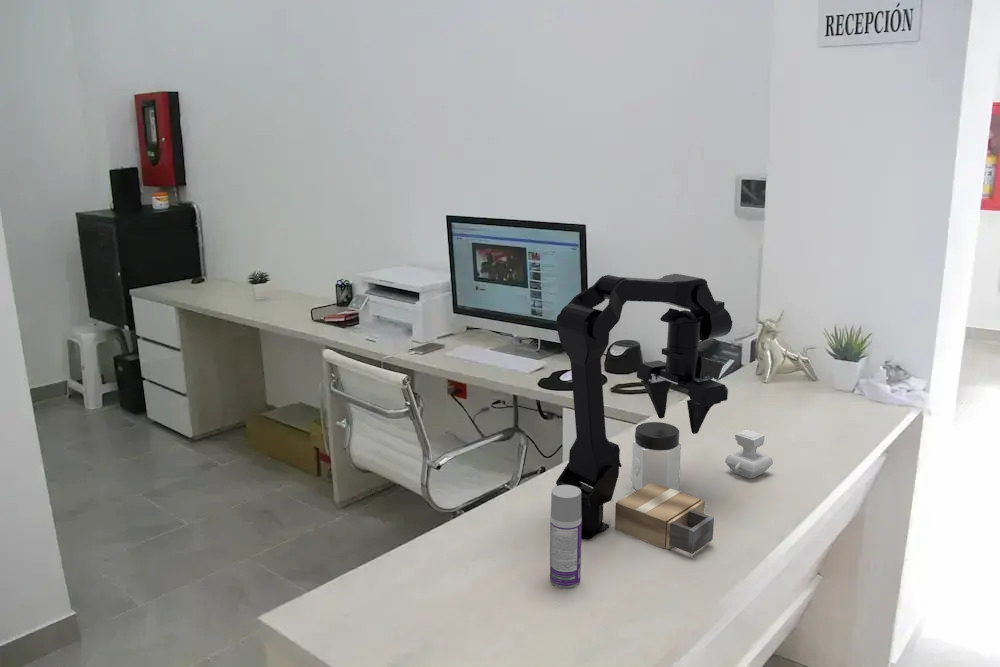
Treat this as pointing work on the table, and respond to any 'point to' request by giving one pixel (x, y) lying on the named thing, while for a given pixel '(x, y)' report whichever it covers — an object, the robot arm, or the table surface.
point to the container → (565, 536)
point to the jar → (656, 455)
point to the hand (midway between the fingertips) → (677, 425)
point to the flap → (690, 529)
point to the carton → (651, 512)
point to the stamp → (749, 455)
